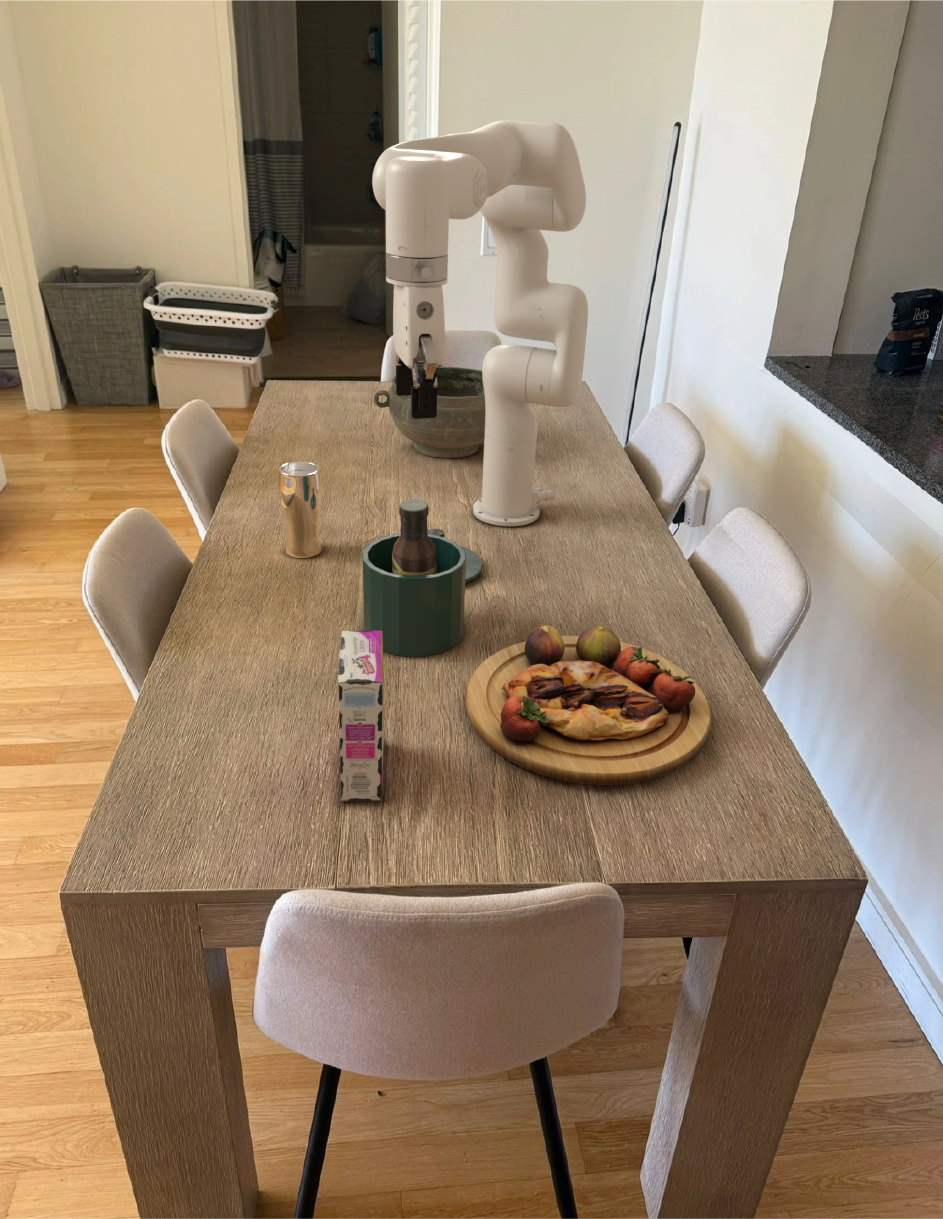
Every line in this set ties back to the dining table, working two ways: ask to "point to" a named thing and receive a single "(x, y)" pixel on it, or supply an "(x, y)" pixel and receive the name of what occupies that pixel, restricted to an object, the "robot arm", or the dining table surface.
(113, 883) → the dining table surface
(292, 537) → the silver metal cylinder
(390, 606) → the tin
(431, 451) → the bowl
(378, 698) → the candy bar box
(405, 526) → the sauce bottle
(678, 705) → the wooden plate
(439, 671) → the dining table surface
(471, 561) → the tin lid
